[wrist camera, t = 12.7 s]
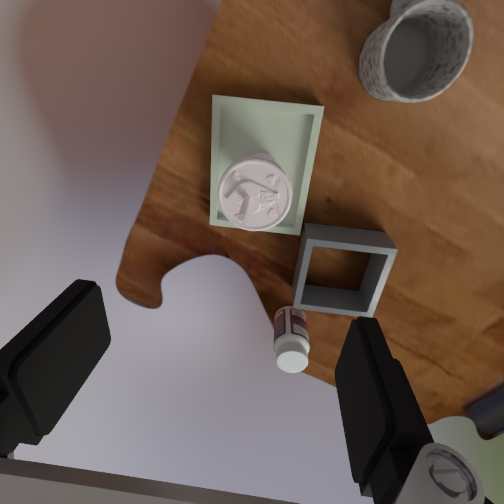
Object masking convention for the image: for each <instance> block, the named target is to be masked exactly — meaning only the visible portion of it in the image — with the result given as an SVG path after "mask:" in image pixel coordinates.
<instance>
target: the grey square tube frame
mask: <svg viewBox="0 0 504 504" xmlns="http://www.w3.org/2000/svg"><path fill="white" fill-rule="evenodd" d="M313 246H319V247H327V248H336V249H344V250H352V251H360V252H369V253H371V256H370V259H369V262H368V265H367V268H366V271H365V274H364V277H363V280H362V283H361V286H360V289H359V291H354V290H346V289H338V288H330V287H322V286H314V285H306V284H305V280H306V275H307V271H308V266H309V262H310V257H311V252H312V248H313ZM397 251H398V249H397V247H396V246H395V245H394V243H393V242H392V240H391V239H390V238H389V236H388V235H387V234H386V232H380V231H372V230H363V229H355V228H347V227H338V226H330V225H321V224H313V223H304V227H303V232H302V237H301V243H300V248H299V253H298V258H297V263H296V268H295V274H294V279H293V284H292V301H293V308H295V309H303V310H311V311H319V312H326V313H334V314H342V315H350V316H358V317H359V316H364V317H371V318H372V316H373V313H374V311H375V308H376V306H377V303H378V300H379V298H380V295H381V293H382V290H383V287H384V285H385V282H386V280H387V277H388V274H389V272H390V269H391V267H392V264H393V261H394V259H395V256H396V254H397Z"/></svg>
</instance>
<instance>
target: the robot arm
mask: <svg viewBox="0 0 504 504" xmlns="http://www.w3.org/2000/svg"><path fill="white" fill-rule="evenodd" d="M110 341H111V336H110V330H109V326H108V321H107V316H106V311H105V307H104V302H103V297H102V292H101V288H100V287H99V286H97V284H96V282H94V281H88V280H82V279H78V280H76V281H74V282H73V283H72V284H71V285H70V286H69V287H68V288H67V289H65V290H64V291H63V292H62V293H61V294H60V295H59V296H58V297H57V298H56V299H55V300H54V301H52V302H51V303H50V304H49V305H48V306H47V307H46V308H45V309H44V310H43V311H42V312H41V313H39V315H37V316H36V317H35V318H34V319H33V320H32V321H31V322H30V323H29V324H28V325H26V326H25V327H24V329H22V330H21V331H20V332H19V333H18V334H17V335H16V336H15V337H14V338H13V339H11V340H10V341H9V342H8V343H7V344H6V345H5V346H4V347H3V348H2V349H0V504H298V503H293V502H287V501H281V500H274V499H268V498H262V497H256V496H250V495H244V494H237V493H231V492H225V491H219V490H213V489H206V488H200V487H194V486H187V485H181V484H174V483H168V482H162V481H155V480H149V479H143V478H136V477H129V476H124V475H117V474H110V473H104V472H96V471H91V470H84V469H78V468H71V467H64V466H58V465H51V464H45V463H38V462H31V461H23V460H16V459H14V450H15V448H16V447H17V446H18V444H19V443H24V444H30V445H38V444H39V442H40V441H41V439H42V438H43V436H44V435H48V434H49V433H50V432H51V431H52V429H53V428H54V427H55V425H56V424H57V422H58V421H59V419H60V418H61V416H62V415H63V413H64V412H65V410H66V409H67V407H68V406H69V404H70V403H71V402H72V400H73V399H74V397H75V396H76V394H77V393H78V391H79V390H80V388H81V387H82V385H83V384H84V382H85V381H86V379H87V378H88V376H89V375H90V374H91V372H92V371H93V369H94V368H95V366H96V365H97V363H98V362H99V360H100V359H101V357H102V356H103V354H104V353H105V351H106V350H107V348H108V347H109V345H110ZM335 382H336V387H337V393H338V399H339V404H340V410H341V416H342V421H343V427H344V432H345V438H346V444H347V449H348V455H349V461H350V467H351V472H352V477H353V480H354V482H355V483H359V487H360V492H361V496H367V497H373V500H374V504H493V503H492V502H491V501H490V500H489V499H488V498H486V497H485V491H484V487H483V484H482V481H481V479H480V477H479V475H478V474H477V472H476V470H475V469H474V468H473V467H472V465H471V464H470V463H469V462H468V460H466V459H465V458H464V457H463V456H462V455H461V454H459V453H458V452H457V451H455V450H453V449H451V448H450V447H448V446H445V445H443V444H440V443H434V440H433V438H432V435H431V433H430V431H429V429H428V426H427V424H426V421H425V419H424V417H423V414H422V412H421V410H420V407H419V405H418V403H417V400H416V398H415V396H414V393H413V391H412V388H411V386H410V384H409V381H408V379H407V377H406V374H405V372H404V370H403V367H402V365H401V363H400V362H399V361H398V360H397V359H394V358H393V357H392V355H391V352H390V350H389V347H388V345H387V343H386V340H385V338H384V335H383V333H382V330H381V328H380V325H379V323H378V321H377V319H376V318H371V317H364V316H359V317H358V318H357V320H355V319H353V320H352V322H351V325H350V328H349V331H348V334H347V336H346V339H345V342H344V345H343V348H342V351H341V354H340V357H339V360H338V362H337V365H336V368H335Z"/></svg>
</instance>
